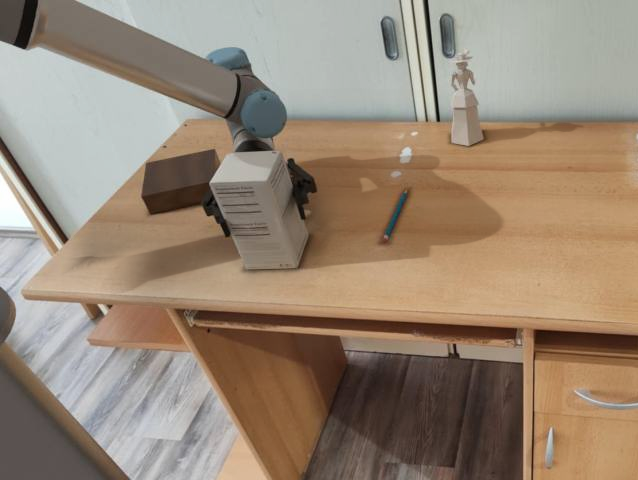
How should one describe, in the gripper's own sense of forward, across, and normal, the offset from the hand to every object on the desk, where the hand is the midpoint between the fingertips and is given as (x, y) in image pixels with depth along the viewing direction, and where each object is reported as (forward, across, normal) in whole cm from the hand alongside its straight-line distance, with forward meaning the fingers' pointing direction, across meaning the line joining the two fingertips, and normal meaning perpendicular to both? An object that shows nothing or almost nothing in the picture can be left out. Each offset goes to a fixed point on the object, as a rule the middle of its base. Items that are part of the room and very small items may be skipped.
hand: (263, 221), depth 93 cm
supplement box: (-4, 0, -9) cm, 10 cm away
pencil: (-7, -22, -9) cm, 25 cm away
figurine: (-30, -43, -9) cm, 53 cm away
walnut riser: (-34, +16, -9) cm, 39 cm away
